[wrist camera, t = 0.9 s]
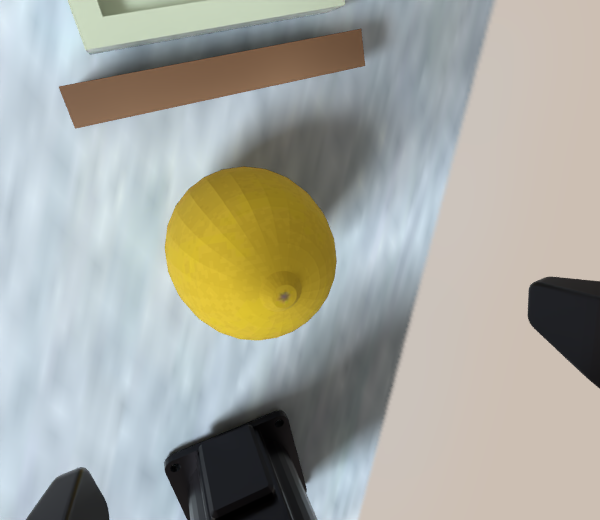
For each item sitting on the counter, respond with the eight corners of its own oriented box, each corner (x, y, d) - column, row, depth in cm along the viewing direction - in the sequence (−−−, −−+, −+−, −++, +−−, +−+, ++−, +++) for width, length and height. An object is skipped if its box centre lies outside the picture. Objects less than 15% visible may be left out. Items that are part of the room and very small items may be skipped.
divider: (336, 69, 17) (365, 65, 15) (84, 123, 15) (75, 128, 13) (332, 37, 17) (361, 28, 15) (70, 88, 15) (58, 86, 12)
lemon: (256, 130, 17) (340, 153, 10) (305, 242, 20) (399, 323, 13) (131, 192, 16) (128, 263, 9) (199, 301, 19) (238, 421, 12)
